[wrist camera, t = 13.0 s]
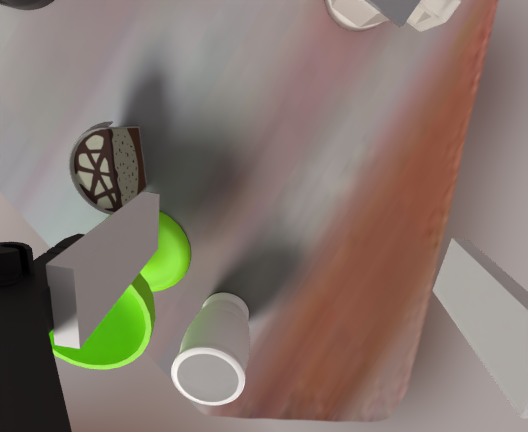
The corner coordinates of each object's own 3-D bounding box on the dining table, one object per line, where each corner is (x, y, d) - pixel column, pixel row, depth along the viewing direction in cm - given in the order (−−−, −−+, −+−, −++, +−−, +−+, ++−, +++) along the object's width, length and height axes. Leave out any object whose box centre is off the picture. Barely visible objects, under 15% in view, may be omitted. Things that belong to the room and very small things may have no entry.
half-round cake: (97, 115, 51) (54, 122, 41) (138, 115, 50) (104, 123, 41) (111, 195, 55) (75, 218, 46) (148, 196, 55) (120, 219, 46)
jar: (186, 298, 61) (156, 362, 47) (237, 277, 59) (221, 338, 45) (215, 342, 65) (195, 414, 51) (265, 324, 62) (258, 394, 48)
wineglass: (188, 297, 61) (150, 378, 44) (99, 283, 61) (28, 359, 45) (193, 213, 55) (152, 270, 39) (95, 199, 56) (11, 249, 39)
